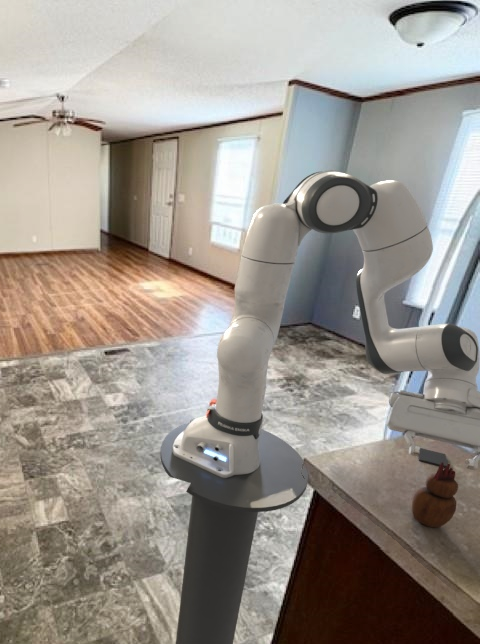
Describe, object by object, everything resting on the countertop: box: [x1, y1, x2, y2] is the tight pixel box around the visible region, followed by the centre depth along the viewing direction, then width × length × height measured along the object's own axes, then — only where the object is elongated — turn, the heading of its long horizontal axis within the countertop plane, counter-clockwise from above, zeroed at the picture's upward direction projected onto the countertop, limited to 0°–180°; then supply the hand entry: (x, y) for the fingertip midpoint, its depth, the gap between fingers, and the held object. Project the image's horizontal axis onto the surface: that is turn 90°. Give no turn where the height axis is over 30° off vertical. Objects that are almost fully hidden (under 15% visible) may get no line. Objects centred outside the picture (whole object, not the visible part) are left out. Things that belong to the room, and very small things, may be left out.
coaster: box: [417, 447, 449, 468], centre depth 107 cm, size 6×6×1 cm
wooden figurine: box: [410, 462, 459, 528], centre depth 85 cm, size 7×6×15 cm
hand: (441, 461), depth 86 cm, fingers open, 8 cm apart
